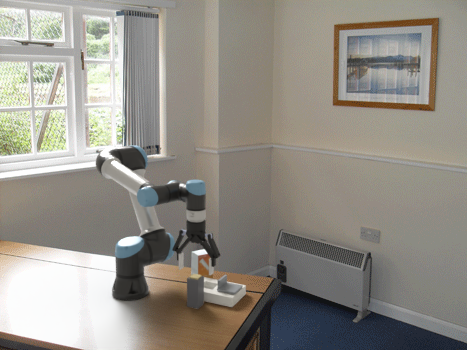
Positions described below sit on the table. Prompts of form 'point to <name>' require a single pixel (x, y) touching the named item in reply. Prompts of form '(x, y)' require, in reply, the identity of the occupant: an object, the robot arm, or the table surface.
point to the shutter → (227, 286)
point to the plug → (195, 291)
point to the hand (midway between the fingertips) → (196, 271)
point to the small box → (200, 263)
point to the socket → (221, 293)
